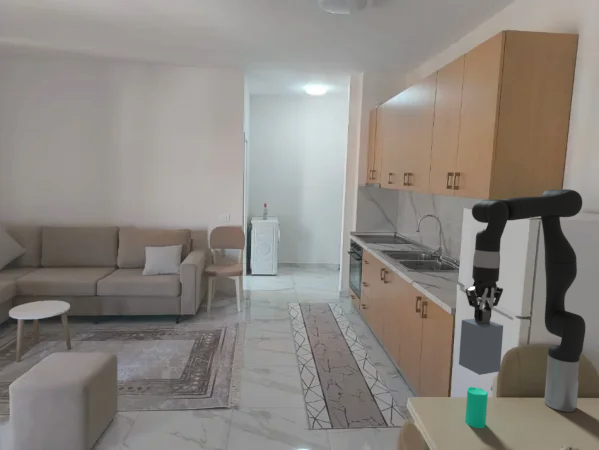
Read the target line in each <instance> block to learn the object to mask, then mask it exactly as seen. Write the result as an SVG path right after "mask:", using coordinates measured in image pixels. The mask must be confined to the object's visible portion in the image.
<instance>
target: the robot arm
mask: <svg viewBox="0 0 599 450" xmlns="http://www.w3.org/2000/svg"><path fill="white" fill-rule="evenodd" d="M582 207H583V198H582V195H581V194H580V193H579V192H578V191H576V190H574V189H547V190H545V191H543V192H542V194H541V195H540V196H517V197H510V198H505V199H482V200H479V201H477V202H475V204H474V205H473V206H472V208H471V215H472V217H473V219H474V220H475V221H477V222H479V223H481V224H483V223H484V224H487V225H486V227H485V230H481V231H478V232H477V233H476V235H475V242H474V244H475V245H474V254H473V259H472V277H471V278H472V279H473V284H472V287H470V288H466V289H465V290H464V291H465V294H466V298H467V302H468V305H469V306H470V307H472V308H474V316H473V319H475V320H477V321H482V311H483V310H482V309H486V310H489V311H491V312H490V319H492V309H493V308H494V307H497V306H498V304H499V302H500V299H501V297H502V294H503V291H504V288H502V287H499V286H498V284H497V282H499V281H500V265H501V242H502V241H501V239H502V236H503V233H504V231H505V228H506V225H507V223H508V221H518V220H525V219H532V218H537V217H540V219H541V226H542V233H543V245H544V247H543V248H544V270H545V306H544V308H545V309H544V326H545V329H546V331H547V332H548V333H550V334H551V335H554V336H557V337H558V338H559V337H560V338H561V341H560V344H553V345H550V346H549V347H548V350H547V361H546V375H545V376H546V377H545V389H544V400H543V401H544V404H545V405H546V406H547V407H549V408H551V409H553V410H557V411H559V412H564V413H566V412H567V413H572V412H575V410H576V408H577V406H578V395H579V393H578V392H579V383H580V381H579V380H578V378H579V367H580V358H581V355H582V352H583V349H584V343H585V337H586V321H585V319H584V318H583V316H581V315H579V314H578V313H577V314H576V313H574V312H570V311H567V310H566V307H565V302H566V301H565V300H566V299H565V298H566V294H567V292H568V290H569V289H570V287H571V286H572V284H573V283H574V281H575V280H576V277H577V273H578V269H577V268H578V267H577V266H578V265H577V264H578V263H577V262H578V261H577V255H576V252H575V250H574V248H573V246H572V245H571V244H570V243H571V242H569V241H568V238H567V237H566V236H565V234H564V232H563V230H562V225H561V219H560V218H571V217H574V216H576V215H578V214H579V213H580V212H581V210H582Z"/></svg>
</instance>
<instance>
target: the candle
mask: <svg viewBox="0 0 599 450" xmlns="http://www.w3.org/2000/svg"><path fill="white" fill-rule="evenodd" d="M466 390H467V392H466V407H465V409H466V410H465V424H467V426H470V427H472V428H475V429H484V428H486V423H487V422H486V421H487V409H488V408H487V407H488V391H486V390H484V388H481V387H473V386H470V387H468V388H467V389H466Z"/></svg>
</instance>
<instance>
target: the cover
mask: <svg viewBox="0 0 599 450" xmlns="http://www.w3.org/2000/svg"><path fill="white" fill-rule="evenodd" d="M482 310H483V311H482V321H477V320H475V318H469V319H468V318H467V319H461V328H460V329H461V330H460V339H459V340H460V342H459V343H460V345H459V357H458V359H459V360H458V365H459V366H462V367H463V368H465V369H467V370H469V371H472V372H473V373H474V374H477V375H479V376H480V375H481V376H482V375H488V374H493V373H498V372H501V363H502V362H501V361H502V359H501V358H502V350H503V349H502V348H503V334H504V325H503V324H500V323H497V322H495V321H491V318H490V312H491V311H489V310H486V309H484V308H482ZM491 313H492V312H491Z"/></svg>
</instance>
